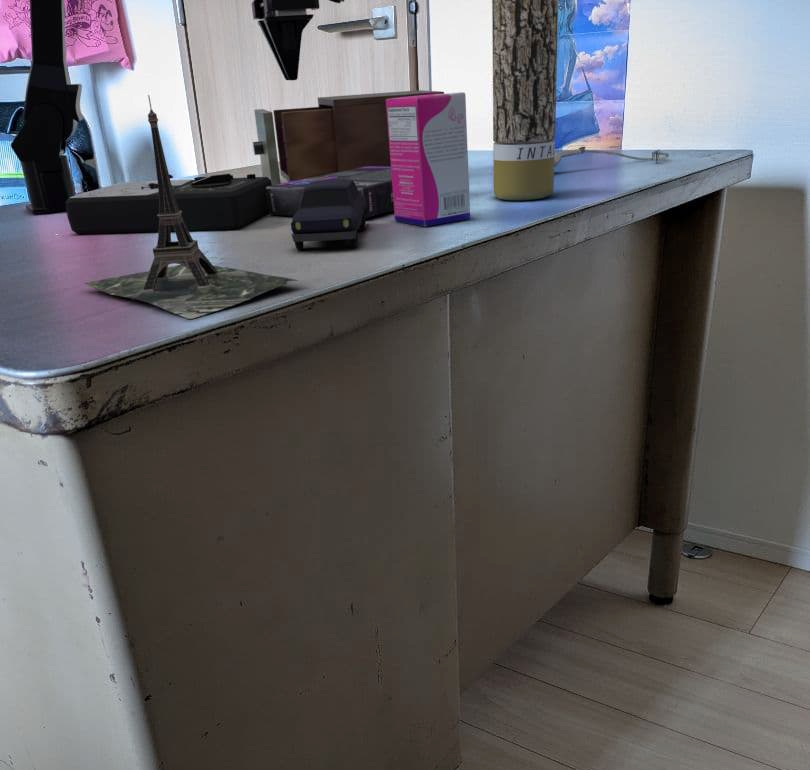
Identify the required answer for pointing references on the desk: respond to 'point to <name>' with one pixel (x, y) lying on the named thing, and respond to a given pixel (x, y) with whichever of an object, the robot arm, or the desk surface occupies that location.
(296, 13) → the robot arm
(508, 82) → the paper tube
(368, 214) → the box
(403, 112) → the supplement box
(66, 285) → the desk surface
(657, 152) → the thin grey pronged rod
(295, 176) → the drawer
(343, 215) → the toy car
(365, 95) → the cabinet
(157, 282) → the eiffel tower figurine
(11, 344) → the desk surface
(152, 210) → the multimeter
